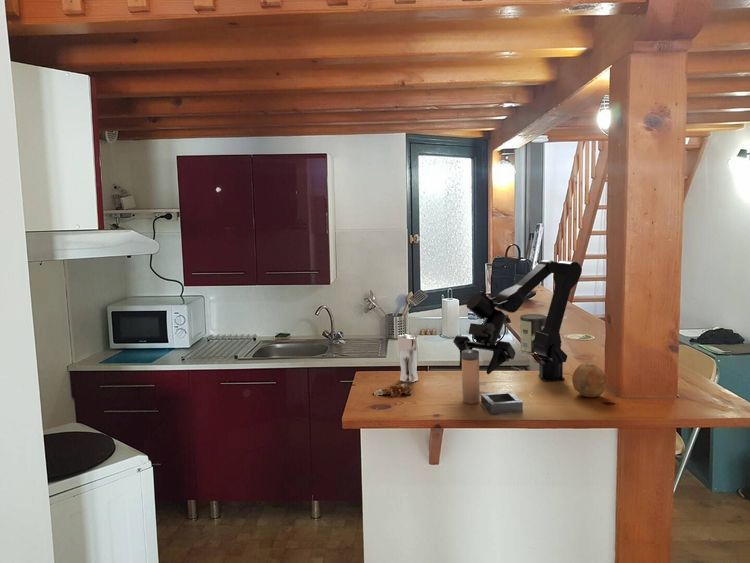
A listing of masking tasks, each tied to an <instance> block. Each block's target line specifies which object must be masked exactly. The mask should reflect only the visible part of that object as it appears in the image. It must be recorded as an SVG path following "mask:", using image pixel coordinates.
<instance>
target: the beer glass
mask: <svg viewBox="0 0 750 563" xmlns="http://www.w3.org/2000/svg"><path fill="white" fill-rule="evenodd" d="M418 337H419V336H418V335H416V334H409V333H407V334H401V335H398V336H397V356H398V360H399V366H400V377H399V380H400V382H403V383H408V382H409V383H415V381H416V382H417V381H419V377H418V371H417V369H418V368H417V367H418V366H417V365H418V360H419V349H420V348H419V340H418V339H419V338H418Z"/></svg>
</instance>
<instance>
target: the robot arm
mask: <svg viewBox="0 0 750 563" xmlns="http://www.w3.org/2000/svg"><path fill="white" fill-rule="evenodd" d="M582 271H583V268H582V267H581V265H580V263H579V262H576V261H571V260H559V261H558V262H556V261H553V260H549V259H548V260H547V259H542V260H540V261H539V262H538V264H537V265H536V266H535V267H533V269H531V271H529V272H528V273H527V274H526V275H525V276H524V277H522V278H521V279H520V280H519V281H518V282H517V283H516V284H514V285H512V286H510V287H508V288H505V289H504V290H502V291H500V292H498V293H497V294H496V295H495V297H494V296H493V297H491V298H490V297H489V296H488V295H487V294H486V293H485V292H484V291H481V290H480V291H478V292H477V293H475V294H474V295H473V296H472V297H470V298H469V299H468V300H467V303H466V308H467V309H468V310H469V311H470V312H472V313H473V314H474V315H475V316H476V317H477V318H478V319H479V320H484V321H483V323H482V324H481V323H480V324H479V323H469V328H468V334H469V335H472V338H473V339H474V340H475V341H471V339H470V338H469V336H467V335H466V336H465V335H459V334H458V335H456V336H455V337H454V339H453V341H452V343H454V345H455V346H456V347H457V348H458V350H459V369H460V370H462V351H463V350H474V349H475V350H484V351H490V352H492V357H491V359H490V361H489V364H488V367H487V369H486V374H487V375H490V374H491V373H493V372H494V371H495V370H496V369H497V368H498V367H500V366H501V365H503V364H504V363H506V362H509V361H510V360H511V361H513V360H514V358H515V356H516V349H514V347H513V345H511V343H510V341H509V342H508V341H503V340H500V339H501V337H502V335H501V332H502V329H503V326H504V324H510V323H511V322H512V320H511V318H510V317H509V314H505V313H506V312H507V313H510V314H511V313H512V314H513V313H516V312H517V311H519V309H520V307H521V306H522V305H523V304H524V302H525V299H526V298H527V296H528V295H529V294H530V293H531V292H532V291H533V290H534V289H535V288H537V286H539V285H540V284H541V283H542V282H543V281H544V280H546V279H547V278H548V276H550V275H551V274H553V275H552V278H553V281H554V284H555V286H554V289H553V294H552V296H551V301H550V305H549V308H548V312H547V315H546V316H547V319H546V322H545V326H544V328H543V330H542V331H541V332H536V333H535V338H534V341H533V342H532V343H534V345H533V349H534V350H535V352H536V353H537V355H536V356H537V357H536V358H538V359H540V363H539V367H538V368H539V369H538V370H539V371H538V372H539V374H538V376H539V377H540V378H541V379H542V380H544V381H545V382H553V381H554V382H556V381H564V380H565V379H566V378H565V377H564V374H563V373H564V367H563V365H564V363H566V362H567V360H568V355H567V354H566V352H565V351H564V350H563V349H562V348H561V347H562V338H561V334H560V330H561V328H562V323H563V319H564V317H565V312H566V310H567V309H566V308H567V306H568V305H567V304H568V301H569V298H570V294H571V291H572V289H573V288H574V287H575V285H577V284H578V282H579V280H580V277H581V275H582ZM504 312H505V313H504Z"/></svg>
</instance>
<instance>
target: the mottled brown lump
mask: <svg viewBox="0 0 750 563" xmlns="http://www.w3.org/2000/svg"><path fill="white" fill-rule="evenodd" d="M373 393H374V394H378V395H381V396H382V395H390V397H391V396H400V397H401V395H402V394H405V395H408V396H409V395H410V394H411V393H412V388H411V387H410V386H409V383H396V384H394V385H390V386H386V387H385V388H377V389H376V390H375V391H373Z"/></svg>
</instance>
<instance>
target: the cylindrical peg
mask: <svg viewBox="0 0 750 563" xmlns="http://www.w3.org/2000/svg"><path fill="white" fill-rule="evenodd" d="M461 382H462V384H461V385H462V402H463V403H464V404H468V405H475V404H478V403H481V392H480V391H481V390H480V389H481V388H480V351H479V350H478V349H472V350H463V351H462V369H461Z"/></svg>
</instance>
